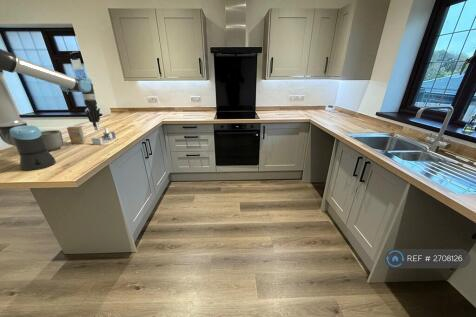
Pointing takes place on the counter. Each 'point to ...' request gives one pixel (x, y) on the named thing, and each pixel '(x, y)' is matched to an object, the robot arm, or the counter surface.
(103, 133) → the marker sleeve
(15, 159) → the counter surface
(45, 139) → the planter
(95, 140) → the cord rig
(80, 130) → the supplement box
